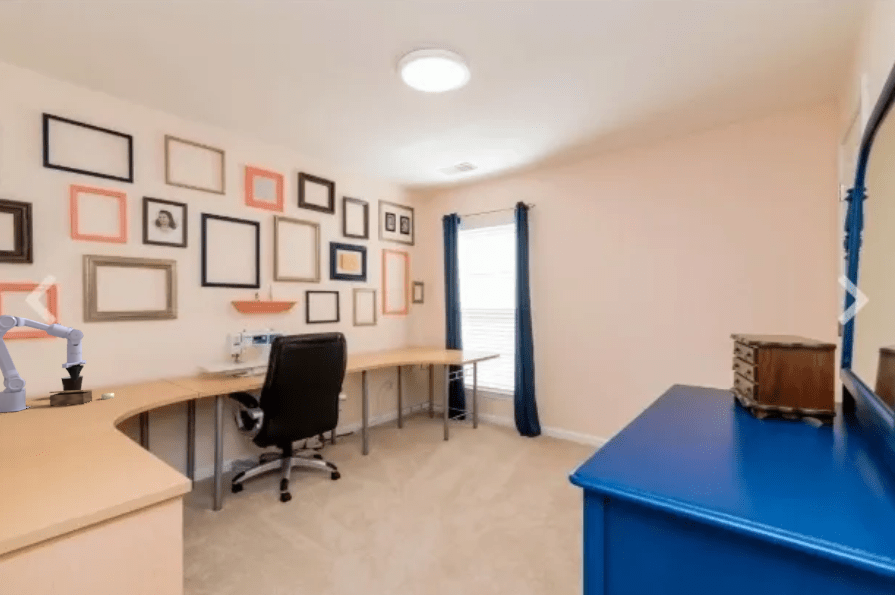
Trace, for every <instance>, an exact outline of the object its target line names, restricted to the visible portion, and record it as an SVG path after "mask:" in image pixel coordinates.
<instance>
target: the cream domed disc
mask: <svg viewBox="0 0 895 595" xmlns="http://www.w3.org/2000/svg"><path fill="white" fill-rule="evenodd" d="M100 397H101V398H100V399H101V400H103V399H104V400H111V399H110V398H112V399H114V398H115V393H114V392H108V393H107V392H105V393H102V394H101V396H100Z"/></svg>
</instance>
